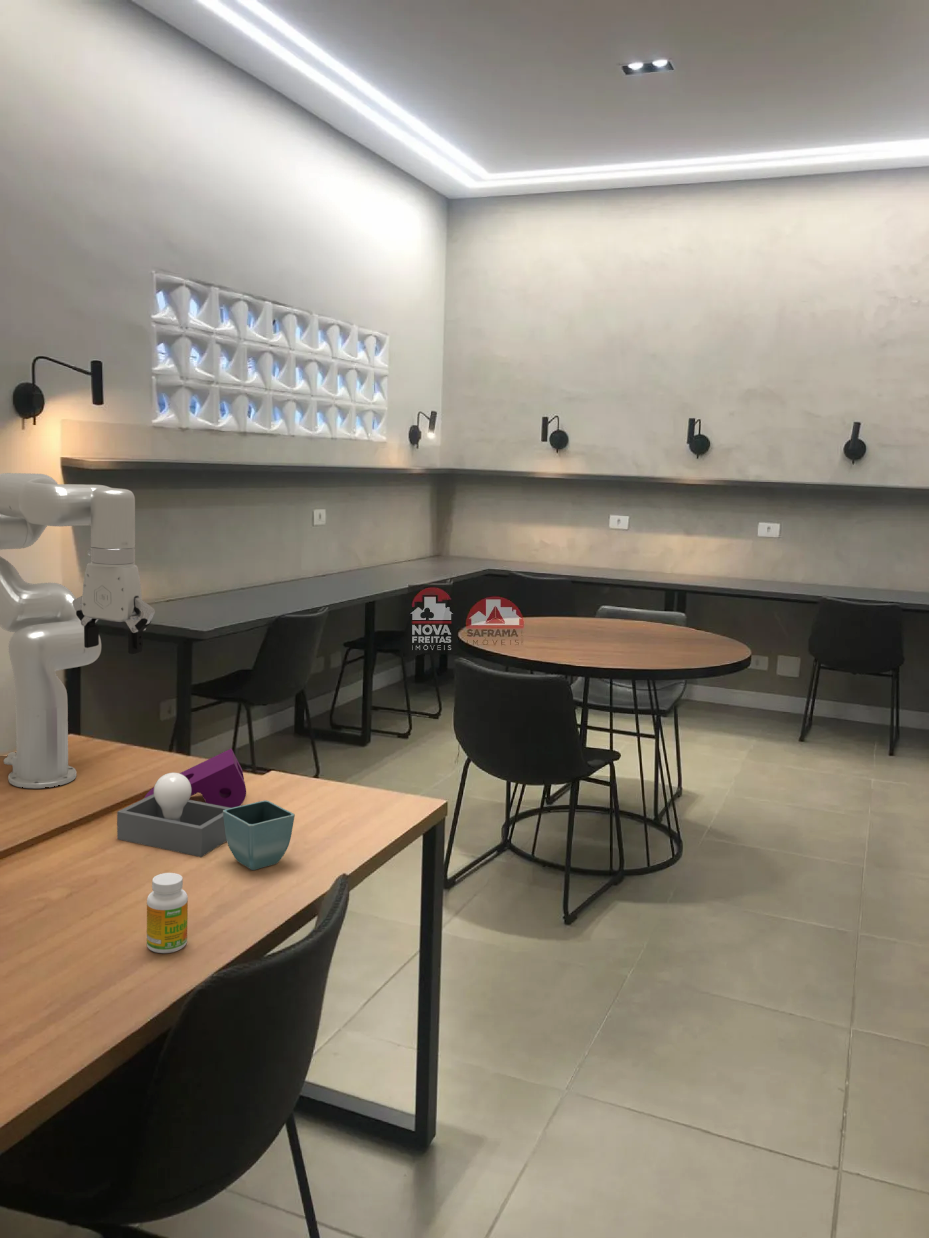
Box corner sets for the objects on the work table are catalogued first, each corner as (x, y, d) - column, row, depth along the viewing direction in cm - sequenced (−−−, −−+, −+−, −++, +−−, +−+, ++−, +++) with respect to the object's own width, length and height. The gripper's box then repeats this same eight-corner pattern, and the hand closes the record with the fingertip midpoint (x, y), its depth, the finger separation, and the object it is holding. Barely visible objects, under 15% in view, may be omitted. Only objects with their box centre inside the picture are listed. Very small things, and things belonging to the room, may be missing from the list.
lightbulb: (197, 834, 172) (198, 775, 170) (165, 843, 167) (165, 782, 165) (179, 823, 176) (179, 765, 174) (146, 831, 171) (146, 772, 169)
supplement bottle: (165, 958, 131) (165, 890, 130) (138, 946, 134) (138, 879, 132) (195, 942, 136) (196, 877, 134) (168, 931, 138) (169, 866, 137)
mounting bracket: (164, 844, 183) (253, 801, 186) (143, 806, 180) (234, 763, 184) (164, 825, 192) (249, 784, 195) (145, 789, 189) (231, 748, 192)
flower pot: (265, 848, 169) (266, 798, 167) (294, 865, 163) (296, 813, 161) (220, 860, 163) (221, 809, 161) (249, 878, 157) (250, 825, 155)
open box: (117, 839, 169) (117, 811, 168) (154, 819, 179) (155, 793, 178) (201, 857, 164) (201, 828, 163) (235, 835, 174) (235, 808, 173)
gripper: (59, 554, 175) (60, 647, 178) (139, 563, 170) (139, 658, 173) (87, 551, 182) (88, 641, 185) (166, 559, 177) (165, 651, 180)
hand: (113, 649), depth 179 cm, fingers open, 9 cm apart
